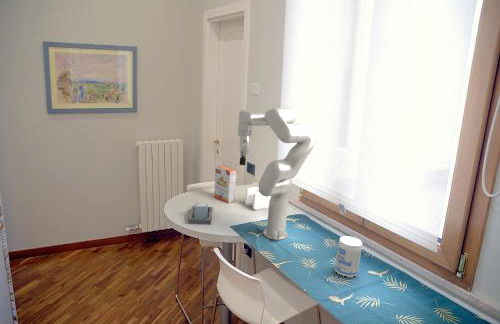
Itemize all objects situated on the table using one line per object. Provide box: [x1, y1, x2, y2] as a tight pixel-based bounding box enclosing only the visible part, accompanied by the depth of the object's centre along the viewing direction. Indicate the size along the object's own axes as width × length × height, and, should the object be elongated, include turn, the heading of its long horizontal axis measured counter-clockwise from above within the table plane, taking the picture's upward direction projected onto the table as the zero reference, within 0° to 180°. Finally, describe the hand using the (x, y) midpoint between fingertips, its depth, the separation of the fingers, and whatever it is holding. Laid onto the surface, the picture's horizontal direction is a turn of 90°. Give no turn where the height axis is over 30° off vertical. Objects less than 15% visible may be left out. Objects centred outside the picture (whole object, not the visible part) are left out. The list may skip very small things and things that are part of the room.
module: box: [193, 202, 209, 219], centre depth 204 cm, size 5×7×7 cm
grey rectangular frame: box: [187, 205, 213, 225], centre depth 205 cm, size 20×12×2 cm, turn 3°
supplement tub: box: [334, 235, 363, 278], centre depth 156 cm, size 10×10×15 cm
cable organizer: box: [244, 186, 271, 211], centre depth 227 cm, size 15×11×12 cm
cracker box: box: [213, 165, 238, 204], centre depth 234 cm, size 14×6×21 cm, turn 45°
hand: (242, 164), depth 209 cm, fingers closed
